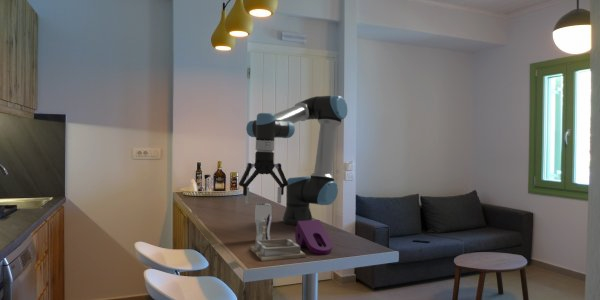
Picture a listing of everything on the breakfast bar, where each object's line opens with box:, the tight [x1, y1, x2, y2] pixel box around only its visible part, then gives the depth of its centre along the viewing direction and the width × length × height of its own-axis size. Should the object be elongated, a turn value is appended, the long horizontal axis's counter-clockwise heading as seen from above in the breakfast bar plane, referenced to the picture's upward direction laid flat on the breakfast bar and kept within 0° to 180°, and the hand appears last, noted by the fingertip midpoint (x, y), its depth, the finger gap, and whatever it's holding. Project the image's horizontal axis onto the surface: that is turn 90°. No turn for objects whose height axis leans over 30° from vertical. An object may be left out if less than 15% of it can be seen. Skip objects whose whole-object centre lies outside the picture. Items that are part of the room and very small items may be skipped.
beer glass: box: [254, 202, 273, 241], centre depth 166 cm, size 7×7×15 cm
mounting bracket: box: [294, 219, 334, 255], centre depth 156 cm, size 10×8×18 cm
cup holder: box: [250, 237, 307, 262], centre depth 148 cm, size 16×16×4 cm
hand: (263, 203), depth 165 cm, fingers open, 13 cm apart
